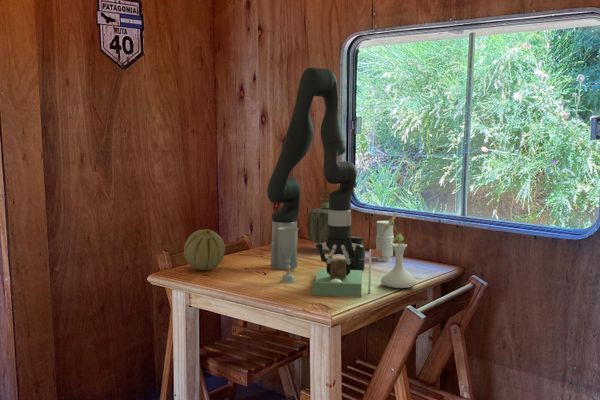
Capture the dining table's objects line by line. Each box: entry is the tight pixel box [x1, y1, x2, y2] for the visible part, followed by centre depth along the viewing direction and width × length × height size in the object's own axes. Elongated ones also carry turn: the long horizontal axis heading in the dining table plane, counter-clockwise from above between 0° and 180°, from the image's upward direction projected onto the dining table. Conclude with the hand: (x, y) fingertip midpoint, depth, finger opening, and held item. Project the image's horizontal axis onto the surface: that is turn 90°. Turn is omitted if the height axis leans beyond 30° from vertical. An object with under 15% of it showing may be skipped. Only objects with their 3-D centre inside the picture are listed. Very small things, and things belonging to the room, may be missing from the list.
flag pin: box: [367, 248, 382, 294], centre depth 189 cm, size 4×1×14 cm, turn 84°
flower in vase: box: [380, 212, 417, 289], centre depth 196 cm, size 13×11×25 cm
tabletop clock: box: [306, 191, 332, 253], centre depth 252 cm, size 14×9×25 cm, turn 58°
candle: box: [375, 220, 395, 262], centre depth 237 cm, size 7×7×15 cm
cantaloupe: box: [183, 228, 226, 271], centre depth 218 cm, size 15×15×15 cm
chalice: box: [278, 226, 300, 284], centre depth 203 cm, size 7×7×18 cm
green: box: [311, 268, 363, 298], centre depth 199 cm, size 15×24×4 cm, turn 174°
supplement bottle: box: [348, 235, 366, 272], centre depth 220 cm, size 7×7×12 cm
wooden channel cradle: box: [330, 258, 347, 279], centre depth 198 cm, size 5×6×5 cm
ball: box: [330, 278, 342, 282], centre depth 191 cm, size 4×4×4 cm
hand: (338, 274), depth 198 cm, fingers closed on wooden channel cradle, 5 cm apart
